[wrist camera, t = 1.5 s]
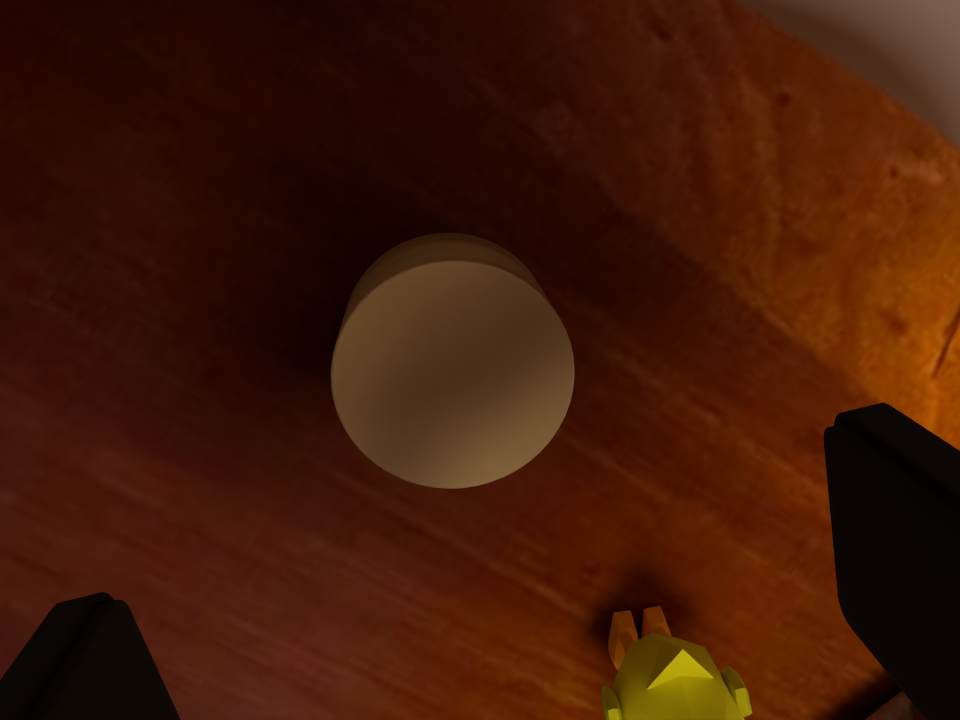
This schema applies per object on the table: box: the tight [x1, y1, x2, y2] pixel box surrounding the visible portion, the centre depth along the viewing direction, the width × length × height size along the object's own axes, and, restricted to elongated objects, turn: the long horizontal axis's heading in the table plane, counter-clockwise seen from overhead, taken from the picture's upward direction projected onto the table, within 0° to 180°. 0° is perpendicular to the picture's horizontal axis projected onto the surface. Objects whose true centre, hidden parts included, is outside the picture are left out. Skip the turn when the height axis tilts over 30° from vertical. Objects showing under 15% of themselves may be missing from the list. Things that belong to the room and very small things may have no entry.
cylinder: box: [331, 233, 575, 489], centre depth 18 cm, size 5×5×3 cm
